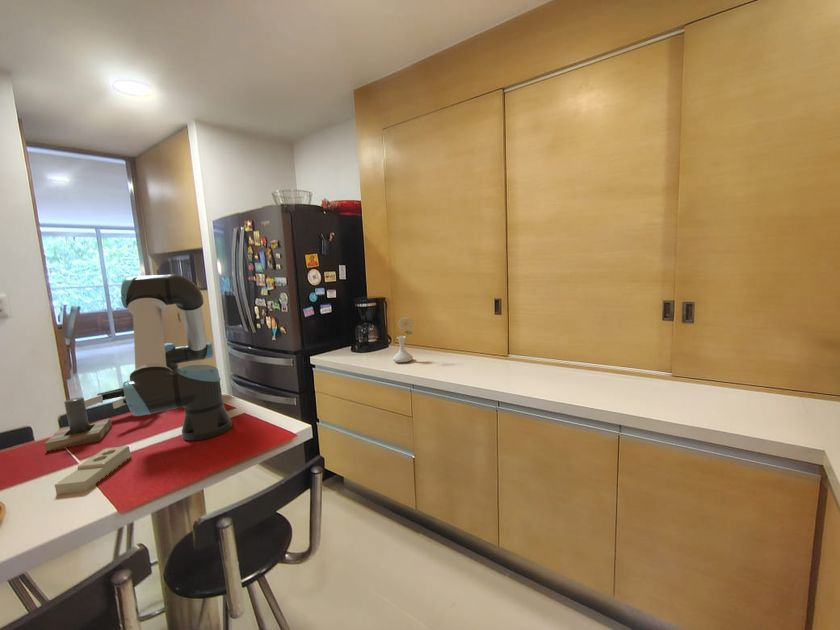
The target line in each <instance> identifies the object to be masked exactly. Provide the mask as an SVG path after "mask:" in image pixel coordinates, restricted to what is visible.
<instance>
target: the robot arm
mask: <svg viewBox="0 0 840 630" xmlns="http://www.w3.org/2000/svg"><path fill="white" fill-rule="evenodd" d="M120 287H121V288H120V294H121V303H122V304H121V305H122V307H123V308H125V309H127V311H128V312H129V313H131V315H132V316H133V317H132V320H133V342H134V344H133V345H134V347H133V348H134V367H135V369H134V370H133V371H132V372H130V374H129V380H126V381H123V383H122V384H123V385H122V387H120V388H116V389H111V390H108V391H103V392H99V393H97V394H96V395H95V396H92V397H90V398H86V399H84V402H85V407H86V408H89V407H92V406H95V405H97V404H102V403H104V401H106V400H112V399H115V400H112V401H111V404H112V409H118V408H120V407H122V406H125V405H127V408H128V409H129V411H130V414H132V415H133V416H135V417H140V416H145V415H152V414H156V413H160V412H161V413H162V412H165V411H171V410H175V409H179V408H180V409H181V408H184V413H185V414H184V419H183V424H182V428H181V434H182V439H183V440H185V441H191V442H192V441H203V440H207V439H211V438H214V437H217V436H219V435H222V434H224V433H226V432H227V431H229V430H230V429H231V428H232V426H233V424H232V423H233V422H232V418H231V416H230V414H229V413H228V410H227V409H226V407H225V405H224V400H223V392H222V387H221V386H222V385H221V377H220V374H219V373H220V372H219V369H218V368H217V367H216V366H214V365H210V364H192V365H187V366H185V365H184V366H182V367H180V366H179V365H178V364H181V363H183V364H184V363H188V362H196V361H205V360H207V359H212V358H213V357H214V351H213V350H214V349H213V344H212V342H208V341H207V334H206V328H205V322H204V321H205V320H204V316H203V309H202V307H203V305H204V297H203V294H202V292H201V290H200V288H199V287H198V286H197V285H196V284H195V283H194V282H193V281H192V280H191V279H189V278H187V277H185V276H184V275H180V274H174V273H168V274H155V275H153V274H152V275H136V276H128V277H126V278H124V279H123V281H122V283H121V286H120ZM173 305H176V307H177V308H178V309H179V310H180V315H181V319H182V320H181V321H182V324H183V330H184V333H185V338H186V343H187V345H178V346H176V345H175V343H174V342H166V343H165V334H164V320H163V319H164V318H163V313H164V312H166V310H167V306H173ZM116 398H117V399H116Z"/></svg>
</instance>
